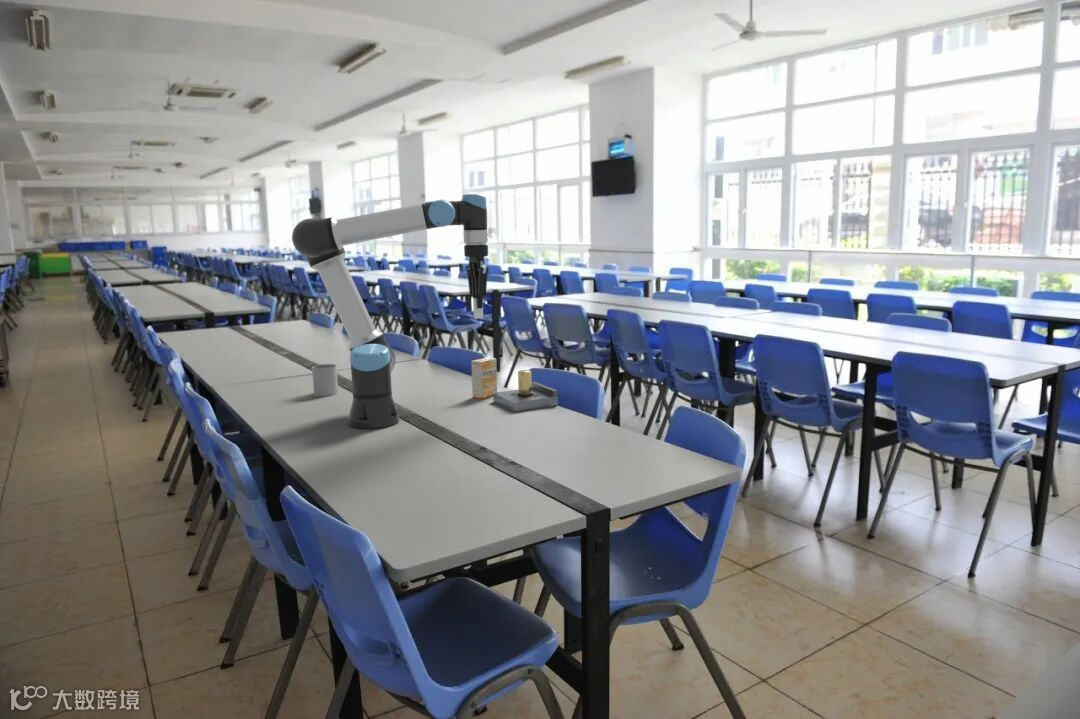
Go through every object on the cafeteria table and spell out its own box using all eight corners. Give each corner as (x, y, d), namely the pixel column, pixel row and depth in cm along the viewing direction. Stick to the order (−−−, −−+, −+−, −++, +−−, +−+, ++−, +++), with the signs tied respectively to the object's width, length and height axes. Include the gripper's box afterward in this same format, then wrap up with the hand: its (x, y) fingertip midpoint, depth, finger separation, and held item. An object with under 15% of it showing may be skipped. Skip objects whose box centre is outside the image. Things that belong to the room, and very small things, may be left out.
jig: (514, 412, 239) (513, 396, 238) (493, 401, 253) (492, 387, 252) (557, 405, 246) (557, 390, 245) (535, 395, 260) (534, 381, 259)
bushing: (522, 405, 246) (521, 373, 244) (516, 403, 250) (515, 370, 248) (534, 404, 248) (533, 371, 246) (528, 401, 252) (527, 369, 250)
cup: (341, 390, 273) (339, 364, 271) (333, 396, 265) (331, 368, 263) (319, 390, 274) (317, 364, 272) (310, 396, 266) (308, 368, 264)
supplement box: (482, 399, 256) (481, 361, 254) (472, 397, 259) (470, 360, 257) (498, 394, 263) (497, 358, 260) (487, 392, 265) (486, 356, 263)
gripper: (495, 244, 232) (497, 319, 237) (478, 243, 244) (481, 315, 248) (473, 244, 229) (475, 321, 233) (457, 244, 240) (460, 316, 245)
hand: (478, 318), depth 241 cm, fingers closed
